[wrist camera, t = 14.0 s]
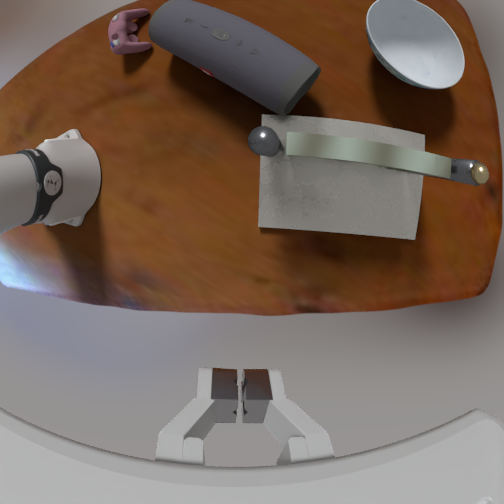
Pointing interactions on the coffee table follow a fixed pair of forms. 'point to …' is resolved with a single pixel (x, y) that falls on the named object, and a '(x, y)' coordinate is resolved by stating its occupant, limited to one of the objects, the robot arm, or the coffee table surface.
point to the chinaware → (414, 43)
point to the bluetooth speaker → (235, 53)
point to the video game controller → (121, 27)
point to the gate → (367, 153)
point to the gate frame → (342, 181)
